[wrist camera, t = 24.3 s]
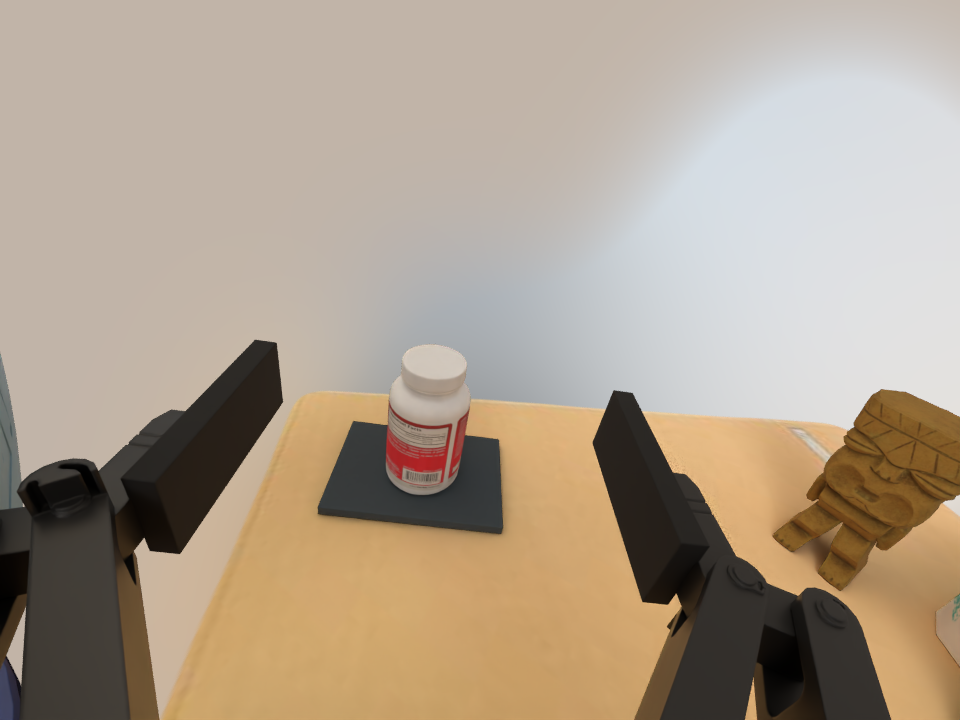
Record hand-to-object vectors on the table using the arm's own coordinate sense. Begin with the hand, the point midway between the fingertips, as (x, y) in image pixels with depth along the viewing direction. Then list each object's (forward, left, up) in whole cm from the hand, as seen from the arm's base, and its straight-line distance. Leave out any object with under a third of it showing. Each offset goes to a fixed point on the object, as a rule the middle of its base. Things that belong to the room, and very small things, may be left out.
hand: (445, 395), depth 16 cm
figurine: (+34, +10, -18) cm, 40 cm away
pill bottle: (-1, +13, -18) cm, 22 cm away
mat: (-1, +13, -18) cm, 22 cm away
